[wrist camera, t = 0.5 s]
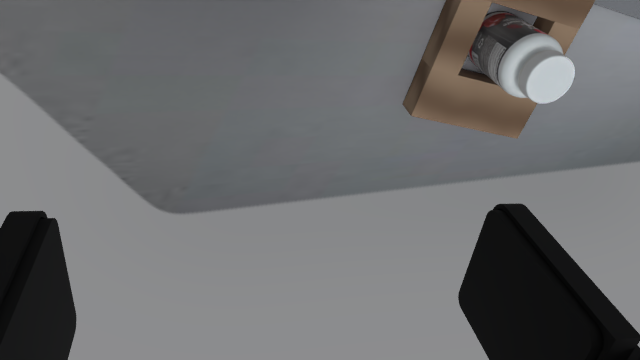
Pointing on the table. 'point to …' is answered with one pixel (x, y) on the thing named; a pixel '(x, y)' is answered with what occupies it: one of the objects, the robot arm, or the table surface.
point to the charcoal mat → (622, 6)
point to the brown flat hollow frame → (474, 88)
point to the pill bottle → (521, 58)
